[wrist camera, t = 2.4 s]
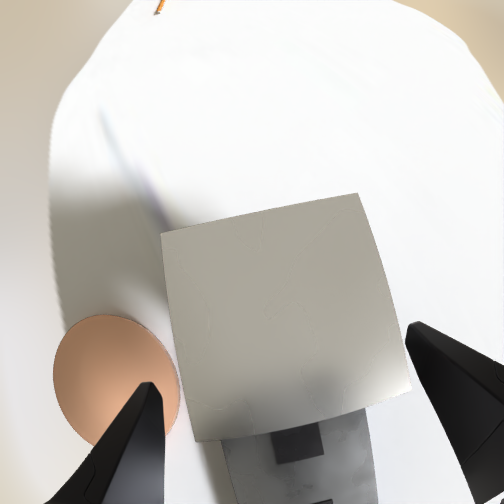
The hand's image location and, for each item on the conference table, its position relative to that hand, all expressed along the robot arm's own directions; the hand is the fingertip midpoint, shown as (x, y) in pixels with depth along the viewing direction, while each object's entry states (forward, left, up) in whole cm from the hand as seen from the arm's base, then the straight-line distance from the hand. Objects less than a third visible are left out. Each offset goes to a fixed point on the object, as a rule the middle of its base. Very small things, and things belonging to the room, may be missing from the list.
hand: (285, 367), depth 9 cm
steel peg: (+1, +1, -9) cm, 9 cm away
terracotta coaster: (-9, +7, -9) cm, 15 cm away
